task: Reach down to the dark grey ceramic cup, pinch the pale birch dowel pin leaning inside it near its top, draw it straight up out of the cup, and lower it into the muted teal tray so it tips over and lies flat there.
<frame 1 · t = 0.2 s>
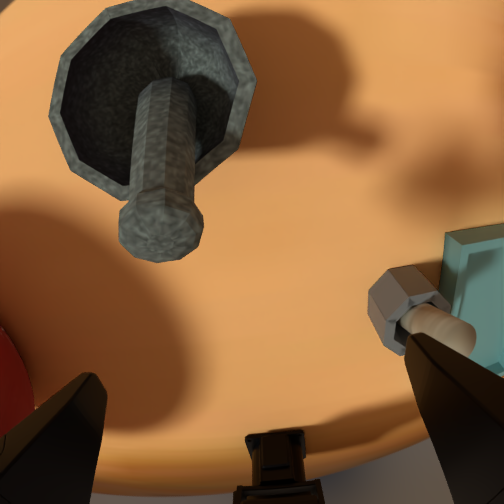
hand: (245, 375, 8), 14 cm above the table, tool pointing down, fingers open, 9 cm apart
teal tray: (481, 311, 25), on the table
mortar and pestle: (180, 109, 19), on the table
birch pin: (400, 305, 24), point 1 cm above the table, touching grey cup
grey cup: (398, 296, 24), on the table
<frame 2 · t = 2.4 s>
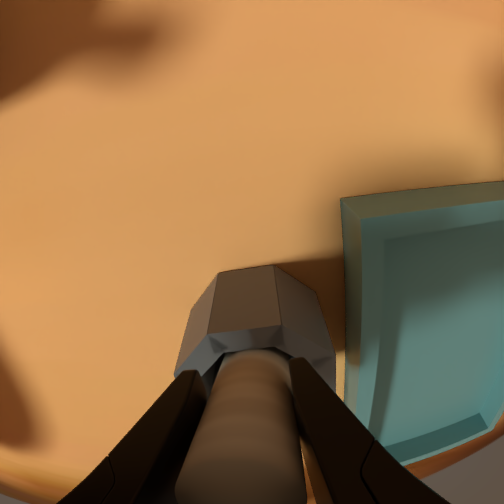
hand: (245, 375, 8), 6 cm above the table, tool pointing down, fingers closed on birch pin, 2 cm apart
teal tray: (444, 345, 15), on the table
birch pin: (258, 339, 14), point 1 cm above the table, touching grey cup, gripper
grey cup: (256, 322, 14), on the table
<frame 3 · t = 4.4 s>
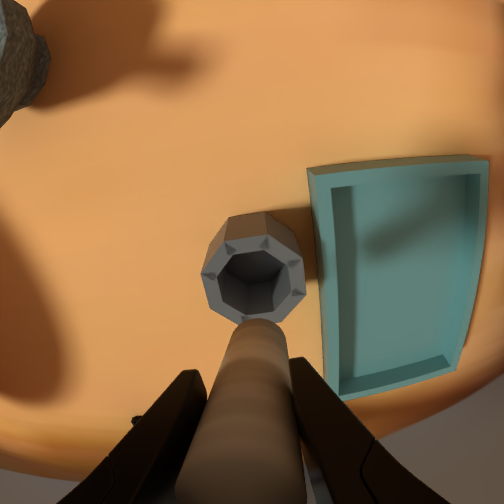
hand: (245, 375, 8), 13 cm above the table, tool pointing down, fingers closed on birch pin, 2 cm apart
teal tray: (397, 282, 22), on the table
mortar and pestle: (22, 78, 16), on the table
birch pin: (258, 339, 14), point 8 cm above the table, touching gripper
grey cup: (253, 254, 21), on the table
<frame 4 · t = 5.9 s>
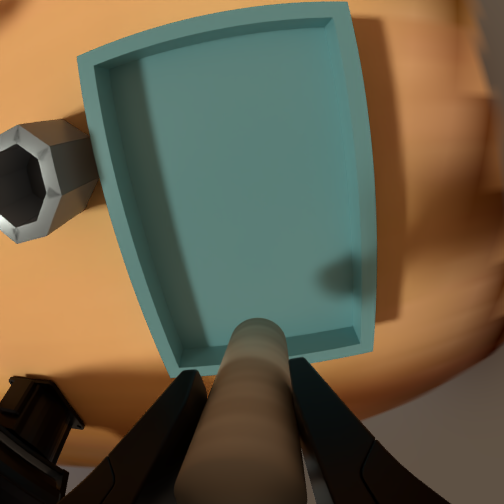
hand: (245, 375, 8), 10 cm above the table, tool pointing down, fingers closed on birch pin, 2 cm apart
teal tray: (243, 202, 16), on the table
birch pin: (258, 339, 14), point 5 cm above the table, touching gripper
grey cup: (57, 169, 15), on the table
when the fingers open (7 cm above the table, at t = 6.6 s): birch pin stays where it is and tips over, resting on teal tray.
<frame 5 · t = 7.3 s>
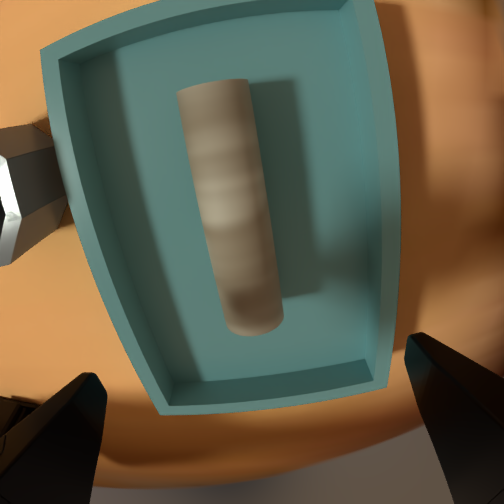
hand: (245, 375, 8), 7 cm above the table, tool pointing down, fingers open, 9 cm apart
teal tray: (240, 221, 14), on the table
birch pin: (255, 323, 13), point 2 cm above the table, tilted 72°, touching teal tray
grey cup: (26, 182, 13), on the table
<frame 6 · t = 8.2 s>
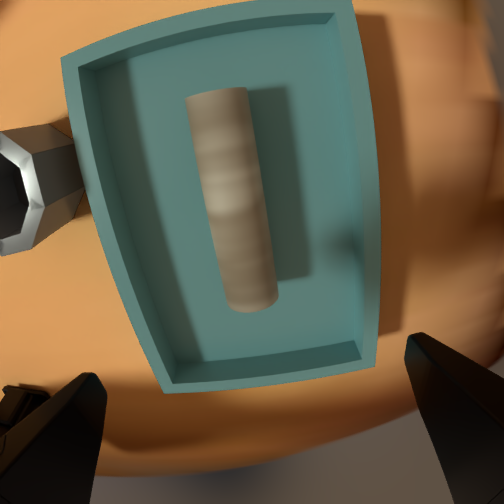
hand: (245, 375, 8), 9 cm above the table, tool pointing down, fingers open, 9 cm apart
teal tray: (238, 211, 15), on the table
birch pin: (253, 302, 15), point 2 cm above the table, tilted 72°, touching teal tray
grey cup: (43, 177, 14), on the table
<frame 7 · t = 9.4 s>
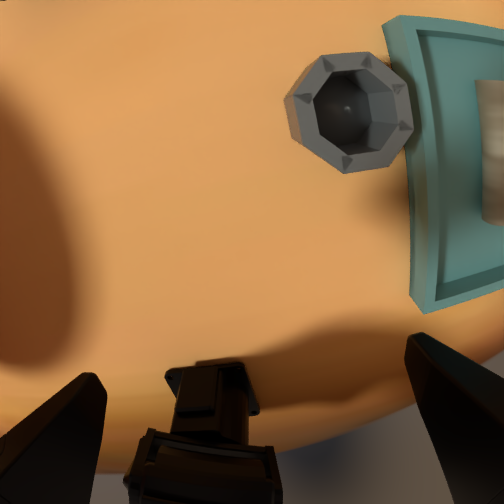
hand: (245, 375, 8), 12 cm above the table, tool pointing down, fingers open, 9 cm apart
teal tray: (478, 160, 17), on the table
birch pin: (495, 223, 17), point 2 cm above the table, tilted 72°, touching teal tray
grey cup: (335, 111, 16), on the table
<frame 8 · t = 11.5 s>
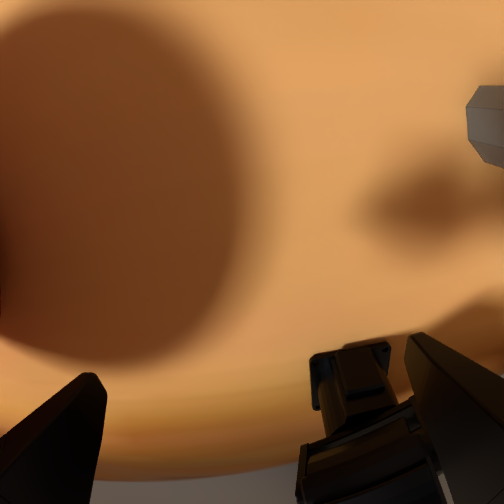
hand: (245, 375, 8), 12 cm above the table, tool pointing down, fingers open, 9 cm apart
grey cup: (493, 124, 16), on the table
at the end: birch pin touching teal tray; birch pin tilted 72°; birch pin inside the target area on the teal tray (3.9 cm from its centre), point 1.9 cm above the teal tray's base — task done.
